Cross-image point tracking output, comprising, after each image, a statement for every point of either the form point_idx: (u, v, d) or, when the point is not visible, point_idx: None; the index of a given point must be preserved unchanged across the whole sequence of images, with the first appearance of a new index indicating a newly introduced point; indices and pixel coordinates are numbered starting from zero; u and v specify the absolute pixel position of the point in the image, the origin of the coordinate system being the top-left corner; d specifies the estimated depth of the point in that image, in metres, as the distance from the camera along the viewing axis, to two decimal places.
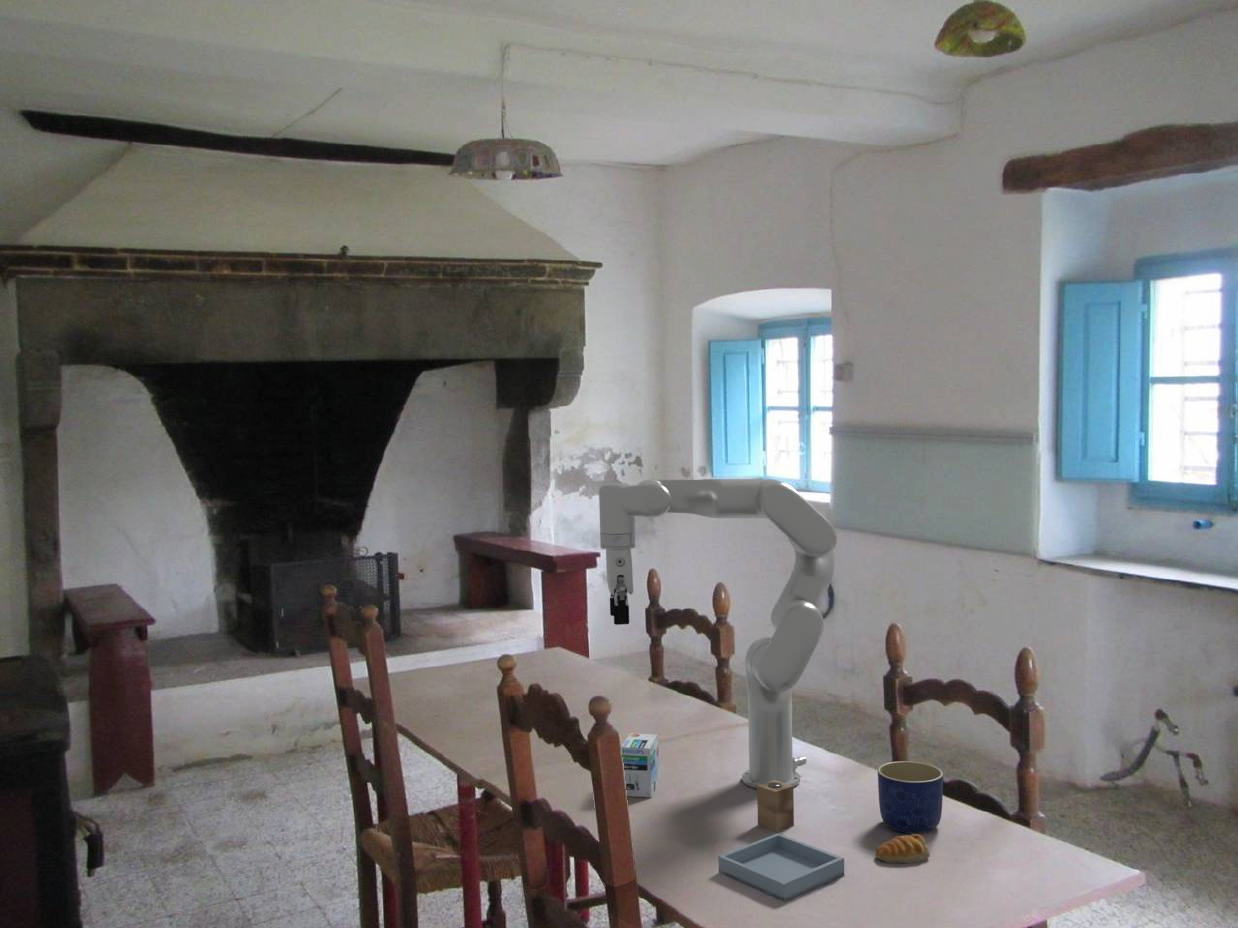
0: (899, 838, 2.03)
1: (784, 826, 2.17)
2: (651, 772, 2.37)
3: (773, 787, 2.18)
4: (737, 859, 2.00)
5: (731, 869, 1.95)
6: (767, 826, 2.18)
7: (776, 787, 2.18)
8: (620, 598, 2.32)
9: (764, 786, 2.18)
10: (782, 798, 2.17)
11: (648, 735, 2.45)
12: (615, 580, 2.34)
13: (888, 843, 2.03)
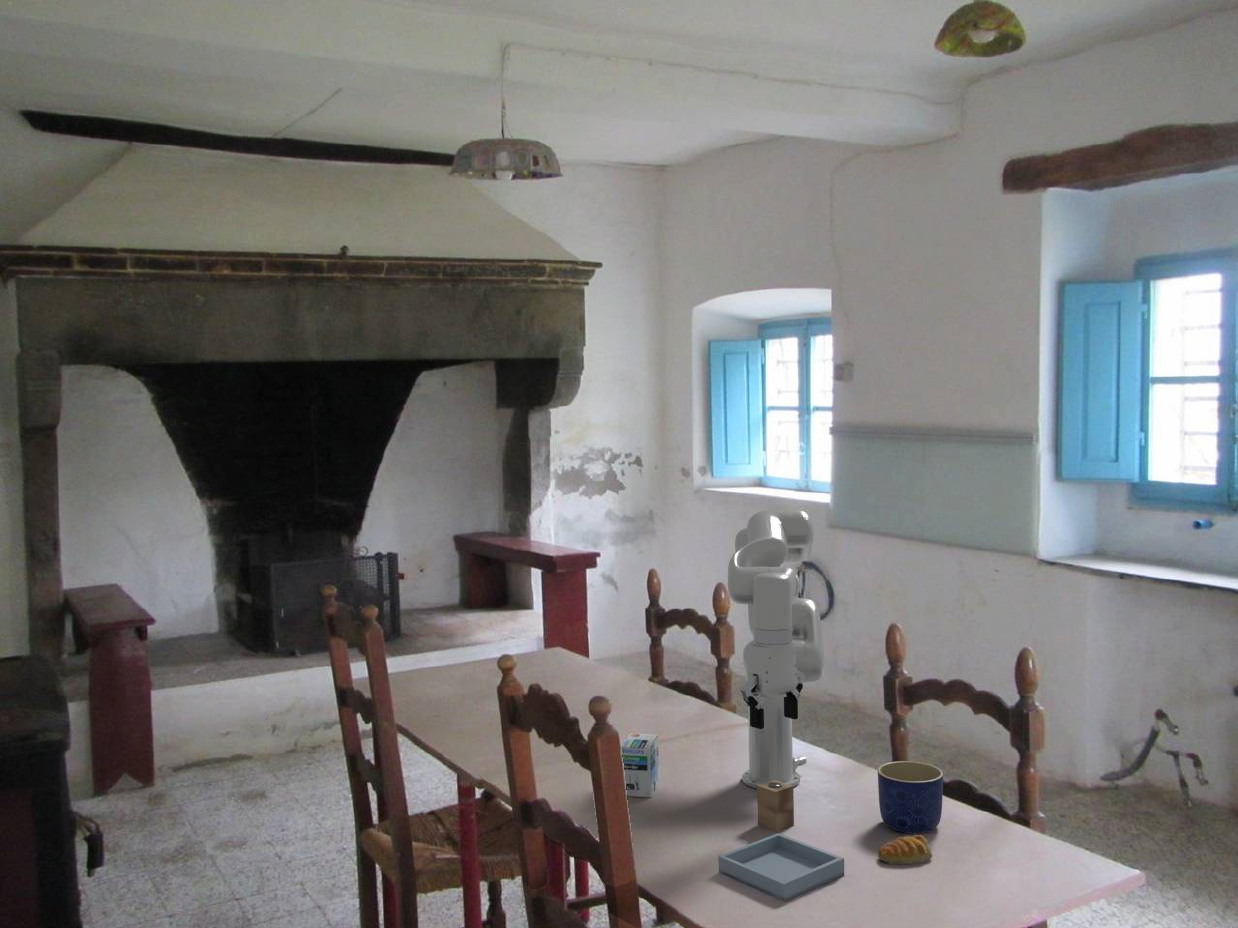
0: (901, 839, 2.03)
1: (784, 826, 2.17)
2: (651, 772, 2.37)
3: (773, 787, 2.18)
4: (737, 859, 2.00)
5: (731, 869, 1.95)
6: (767, 826, 2.18)
7: (776, 787, 2.18)
8: None
9: (764, 786, 2.18)
10: (782, 798, 2.17)
11: (648, 735, 2.45)
12: None
13: (891, 844, 2.02)
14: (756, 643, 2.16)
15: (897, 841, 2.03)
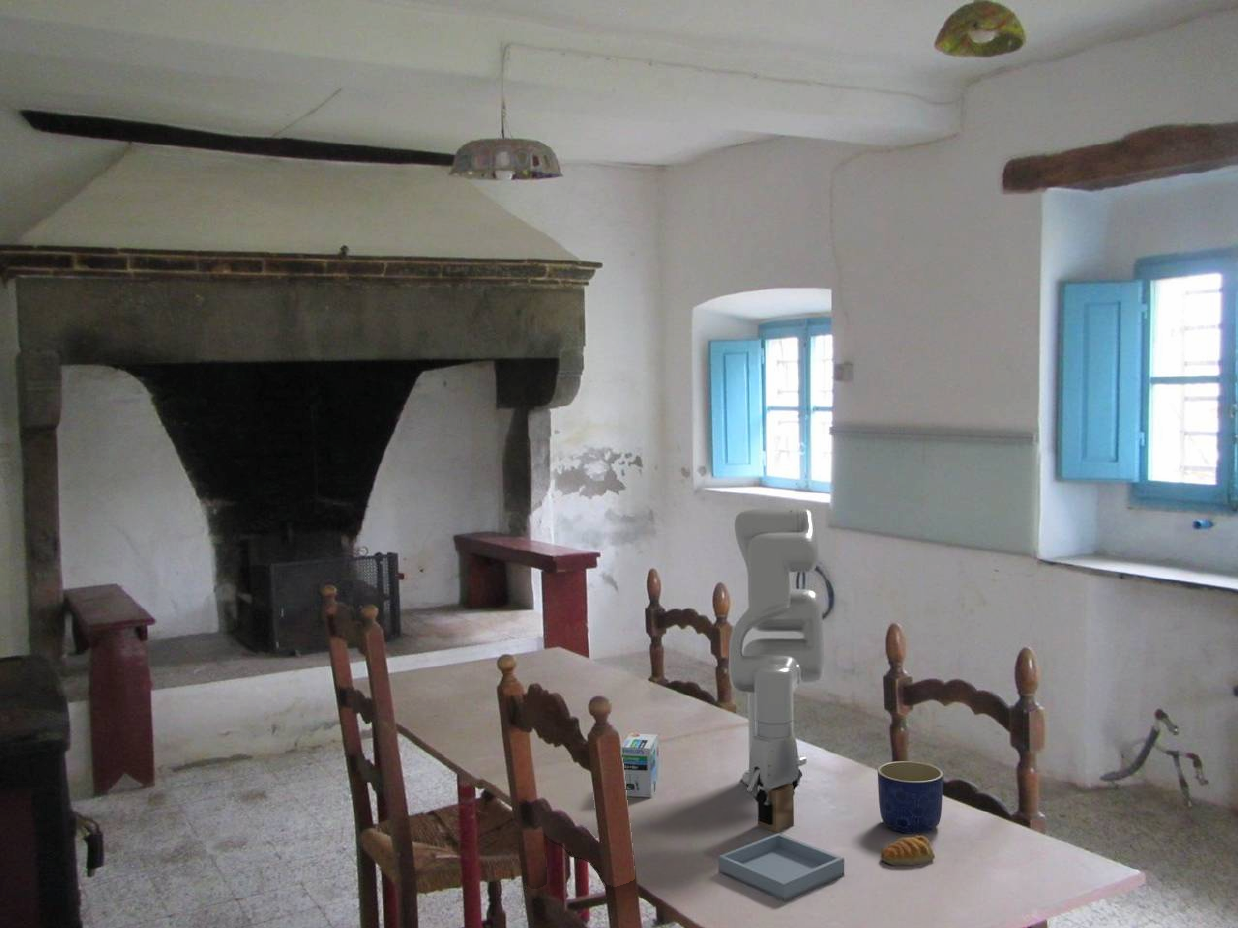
0: (904, 840, 2.02)
1: (784, 826, 2.17)
2: (651, 772, 2.37)
3: None
4: (737, 859, 2.00)
5: (731, 869, 1.95)
6: (767, 826, 2.18)
7: None
8: None
9: None
10: (782, 798, 2.17)
11: (648, 735, 2.45)
12: None
13: (893, 845, 2.02)
14: (758, 736, 2.17)
15: (899, 842, 2.02)
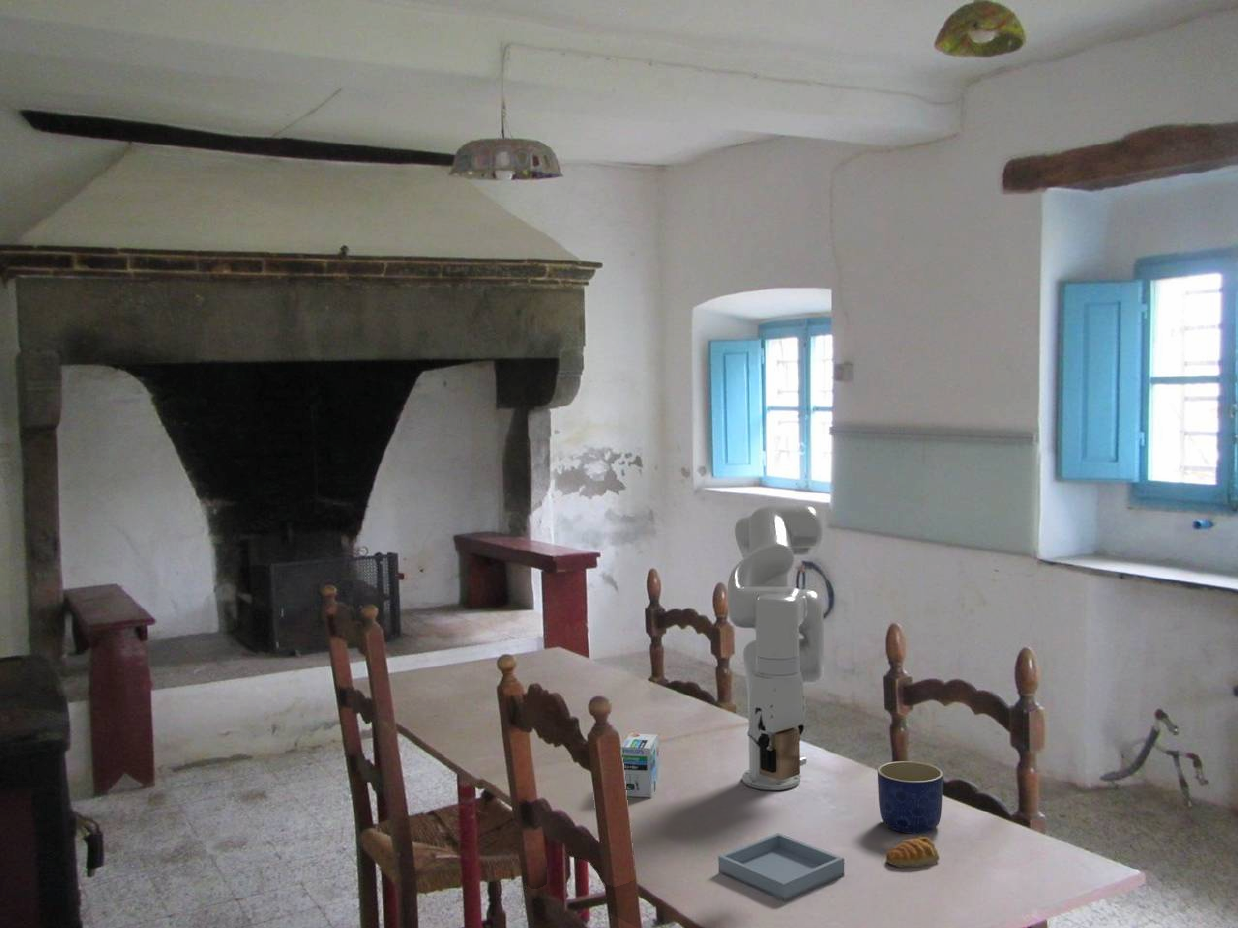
0: (908, 842, 2.02)
1: (789, 774, 1.94)
2: (651, 772, 2.37)
3: None
4: (737, 859, 2.00)
5: (731, 869, 1.95)
6: (770, 774, 1.94)
7: None
8: None
9: None
10: (787, 743, 1.93)
11: (648, 735, 2.45)
12: None
13: (898, 847, 2.01)
14: (759, 673, 1.94)
15: (904, 844, 2.01)
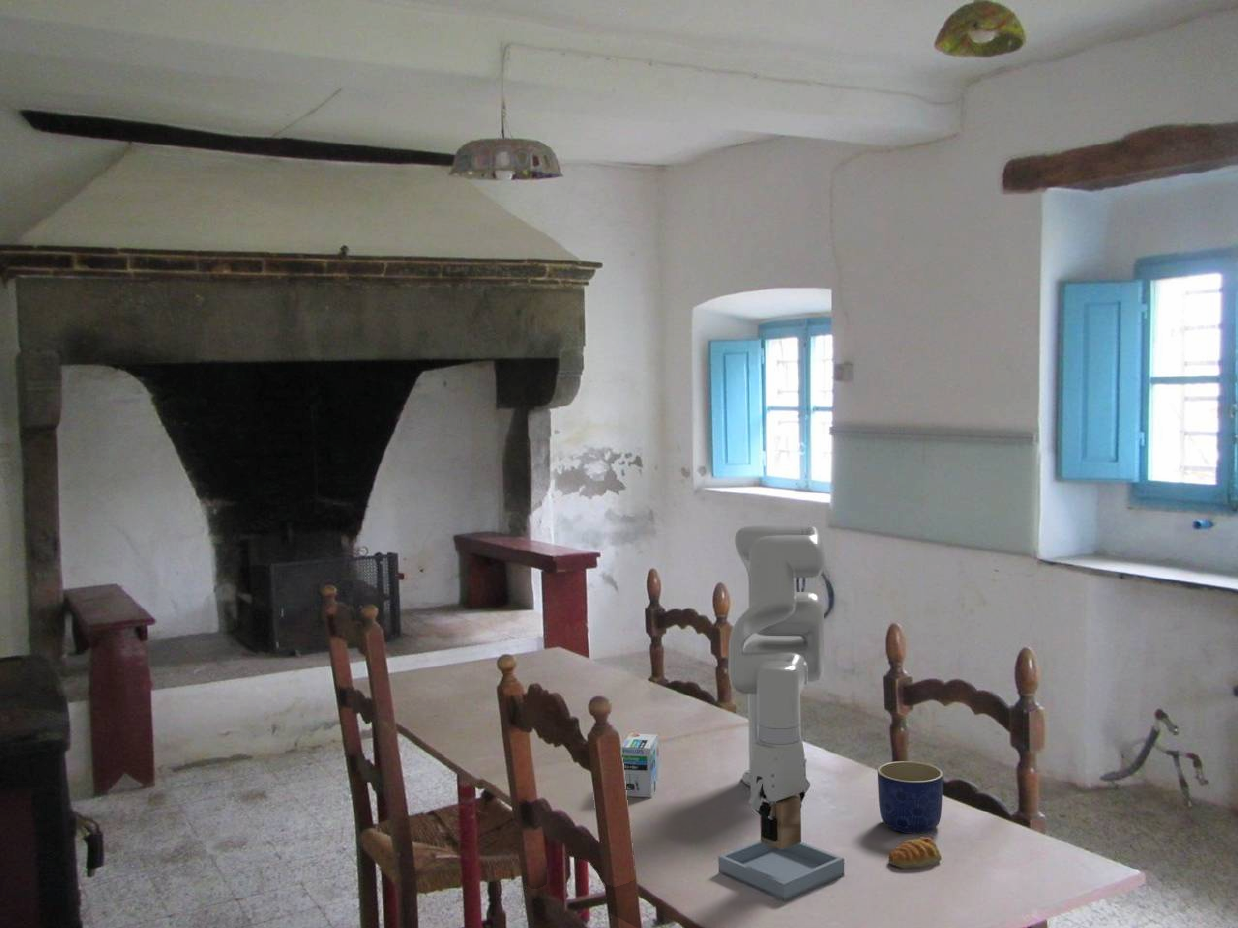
0: (910, 842, 2.01)
1: (790, 842, 1.94)
2: (651, 772, 2.37)
3: None
4: (737, 859, 2.00)
5: (731, 869, 1.95)
6: (771, 842, 1.95)
7: None
8: None
9: None
10: (788, 811, 1.94)
11: (648, 735, 2.45)
12: None
13: (900, 848, 2.00)
14: (760, 741, 1.94)
15: (906, 845, 2.01)
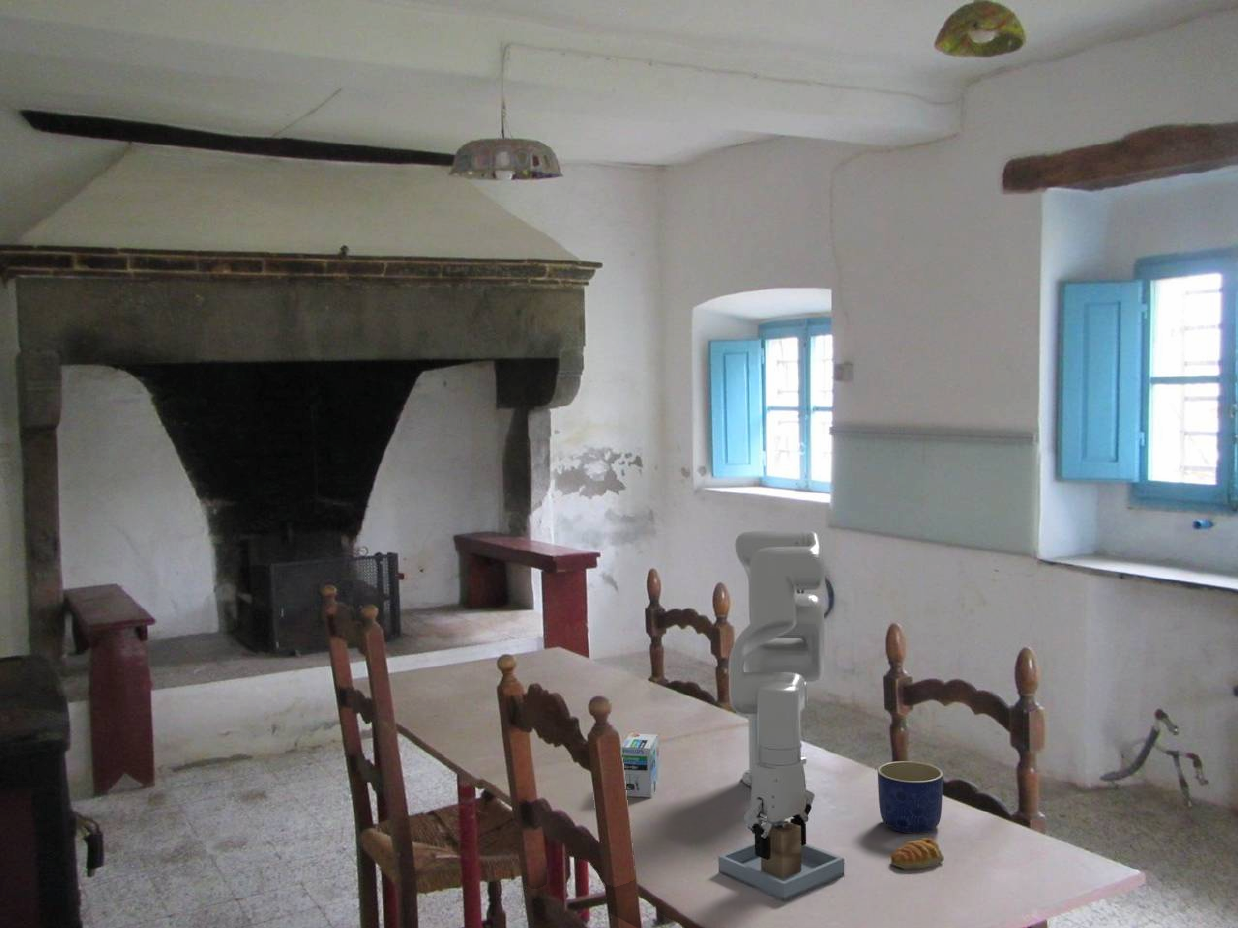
0: (912, 843, 2.01)
1: (790, 871, 1.95)
2: (651, 772, 2.37)
3: (779, 828, 1.96)
4: (737, 859, 2.00)
5: (731, 869, 1.95)
6: (771, 871, 1.95)
7: (782, 828, 1.95)
8: None
9: None
10: (789, 840, 1.94)
11: (648, 735, 2.45)
12: None
13: (902, 849, 2.00)
14: (761, 762, 1.94)
15: (908, 846, 2.00)
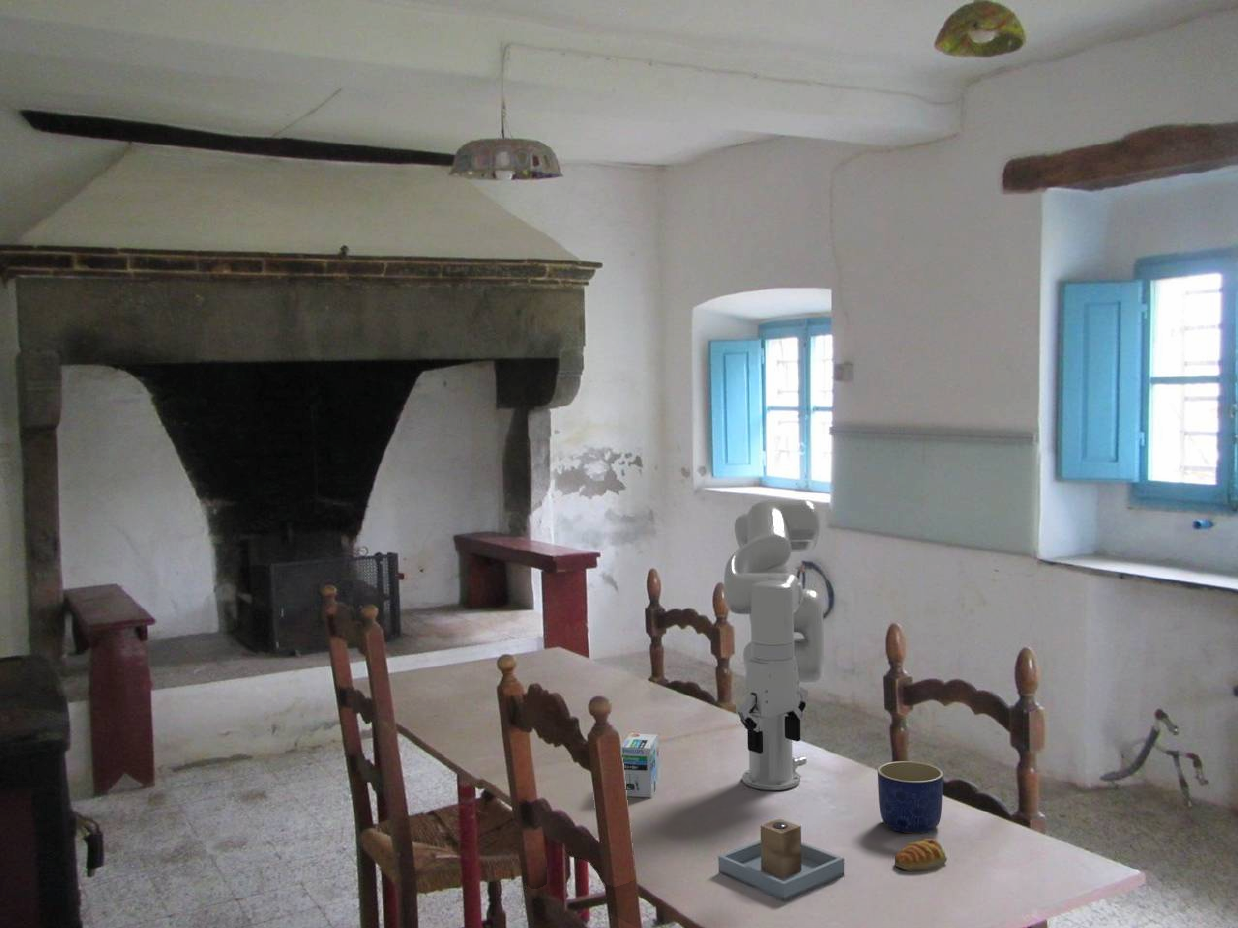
0: (915, 844, 2.00)
1: (790, 871, 1.95)
2: (651, 772, 2.37)
3: (779, 828, 1.96)
4: (737, 859, 2.00)
5: (731, 869, 1.95)
6: (771, 871, 1.95)
7: (782, 828, 1.95)
8: None
9: (769, 827, 1.96)
10: (789, 840, 1.94)
11: (648, 735, 2.45)
12: None
13: (906, 850, 2.00)
14: (754, 659, 1.95)
15: (912, 847, 2.00)
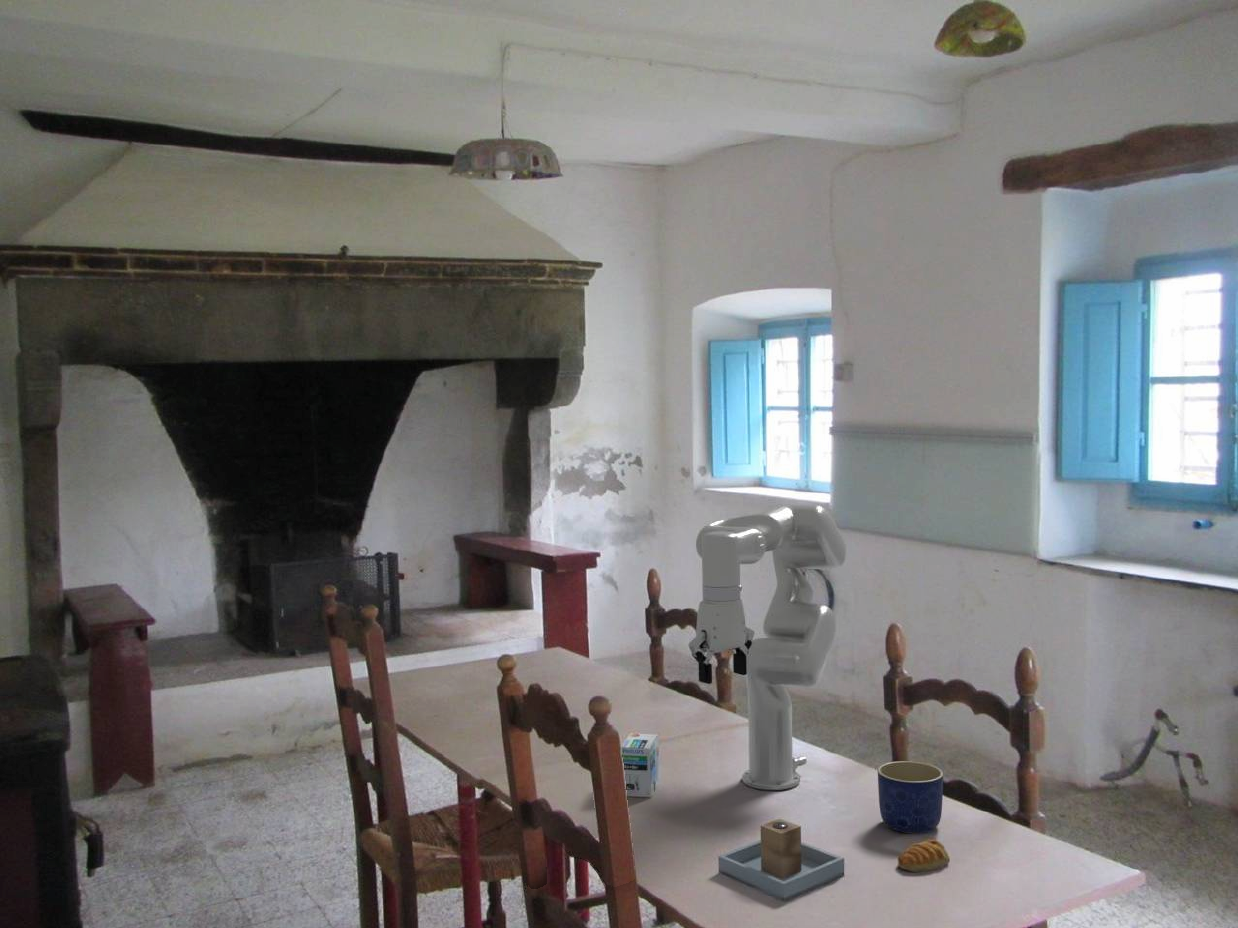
0: (918, 845, 2.00)
1: (790, 871, 1.95)
2: (651, 772, 2.37)
3: (779, 828, 1.96)
4: (737, 859, 2.00)
5: (731, 869, 1.95)
6: (771, 871, 1.95)
7: (782, 828, 1.95)
8: None
9: (769, 827, 1.96)
10: (789, 840, 1.94)
11: (648, 735, 2.45)
12: None
13: (909, 851, 1.99)
14: (705, 600, 2.21)
15: (915, 848, 1.99)
